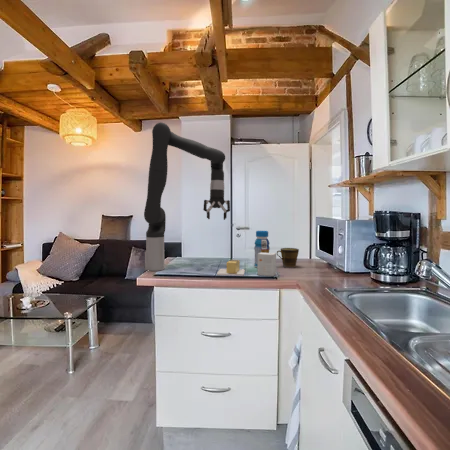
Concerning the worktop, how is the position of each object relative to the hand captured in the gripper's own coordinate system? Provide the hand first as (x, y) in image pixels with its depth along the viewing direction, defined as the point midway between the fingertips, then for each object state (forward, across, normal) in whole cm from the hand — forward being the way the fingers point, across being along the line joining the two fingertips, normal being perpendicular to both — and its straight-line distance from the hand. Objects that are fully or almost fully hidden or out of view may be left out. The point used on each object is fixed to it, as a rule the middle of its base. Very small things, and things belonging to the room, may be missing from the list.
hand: (216, 219), depth 162 cm
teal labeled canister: (+26, +25, +6) cm, 37 cm away
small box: (+26, +27, -14) cm, 40 cm away
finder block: (+25, +11, -12) cm, 30 cm away
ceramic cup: (+26, +39, +9) cm, 48 cm away
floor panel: (+26, +10, -12) cm, 30 cm away
